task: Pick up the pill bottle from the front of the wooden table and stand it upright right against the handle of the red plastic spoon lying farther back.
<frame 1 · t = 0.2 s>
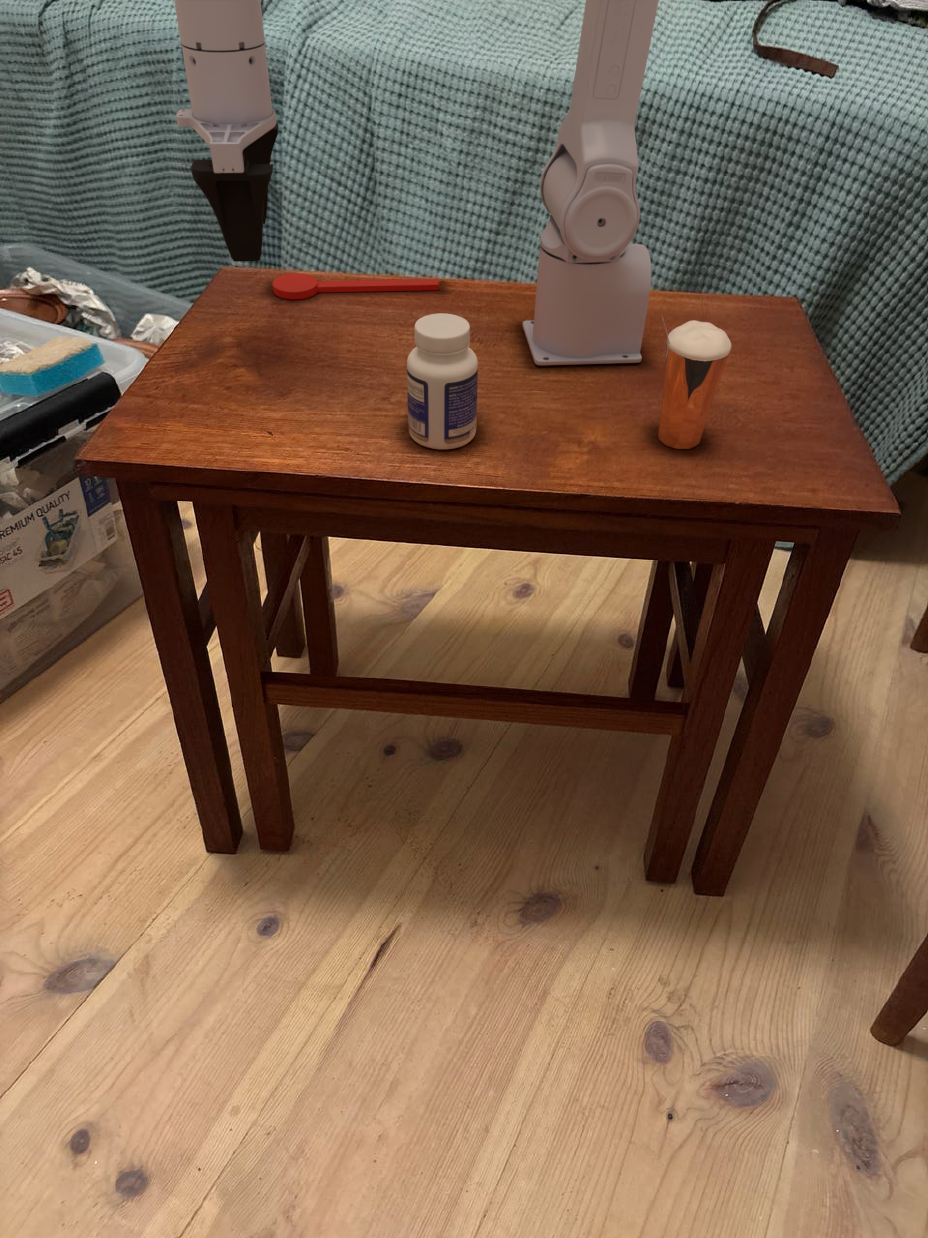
hand: (250, 240, 73), 10 cm above the table, tool pointing down, fingers open, 7 cm apart
milkshake: (673, 440, 72), on the table
red spoon: (347, 289, 91), on the table
pill bottle: (441, 435, 72), on the table
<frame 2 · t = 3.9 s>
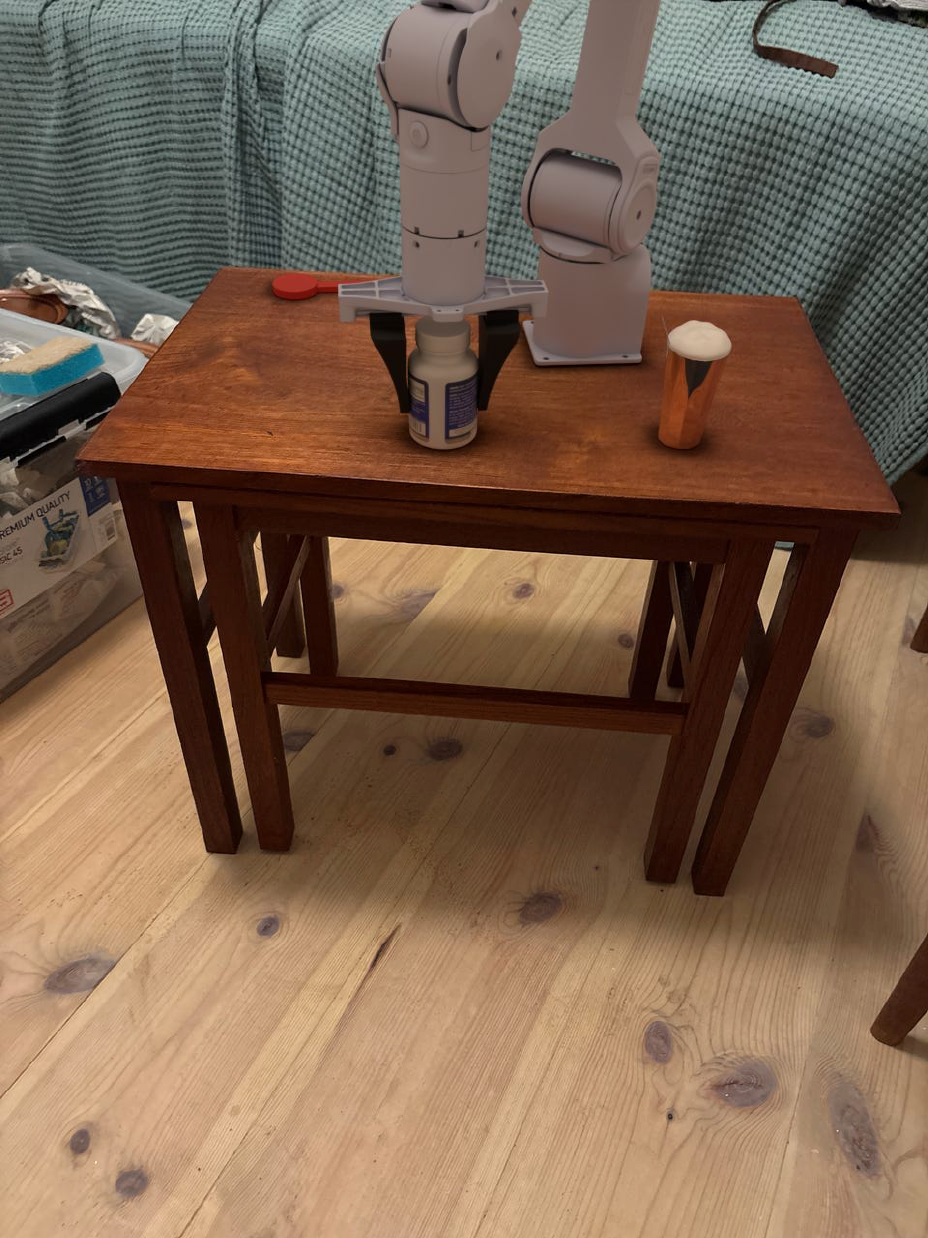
hand: (442, 405, 70), 2 cm above the table, tool pointing down, fingers closed on pill bottle, 5 cm apart
pill bottle: (442, 435, 72), on the table, touching gripper
everything else where it was.
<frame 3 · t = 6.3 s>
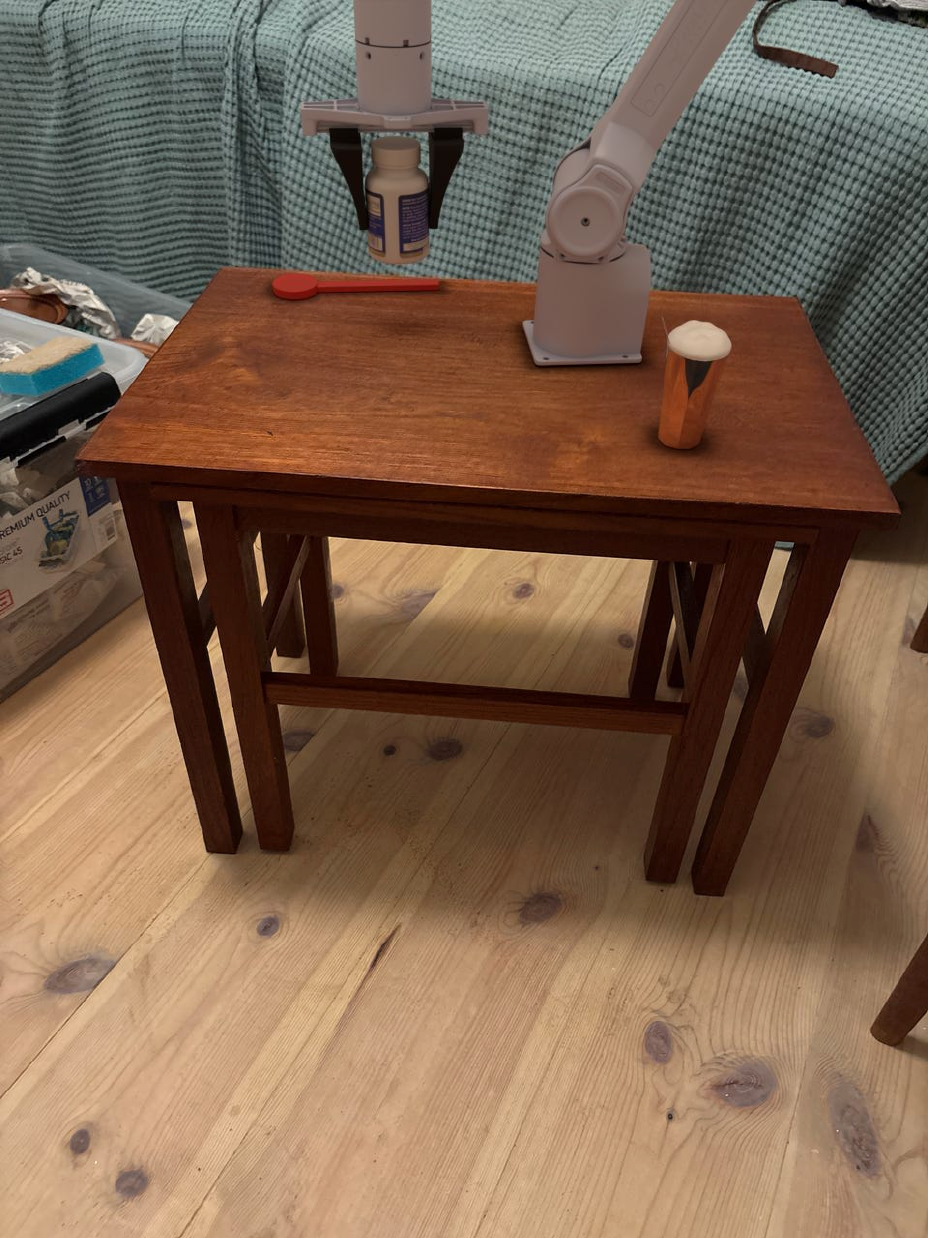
hand: (397, 225, 78), 9 cm above the table, tool pointing down, fingers closed on pill bottle, 5 cm apart
pill bottle: (398, 256, 80), point 7 cm above the table, touching gripper
everything else where it was.
when the fingers open (2 cm above the table, at t = 9.0 s): pill bottle stays where it is, on the table.
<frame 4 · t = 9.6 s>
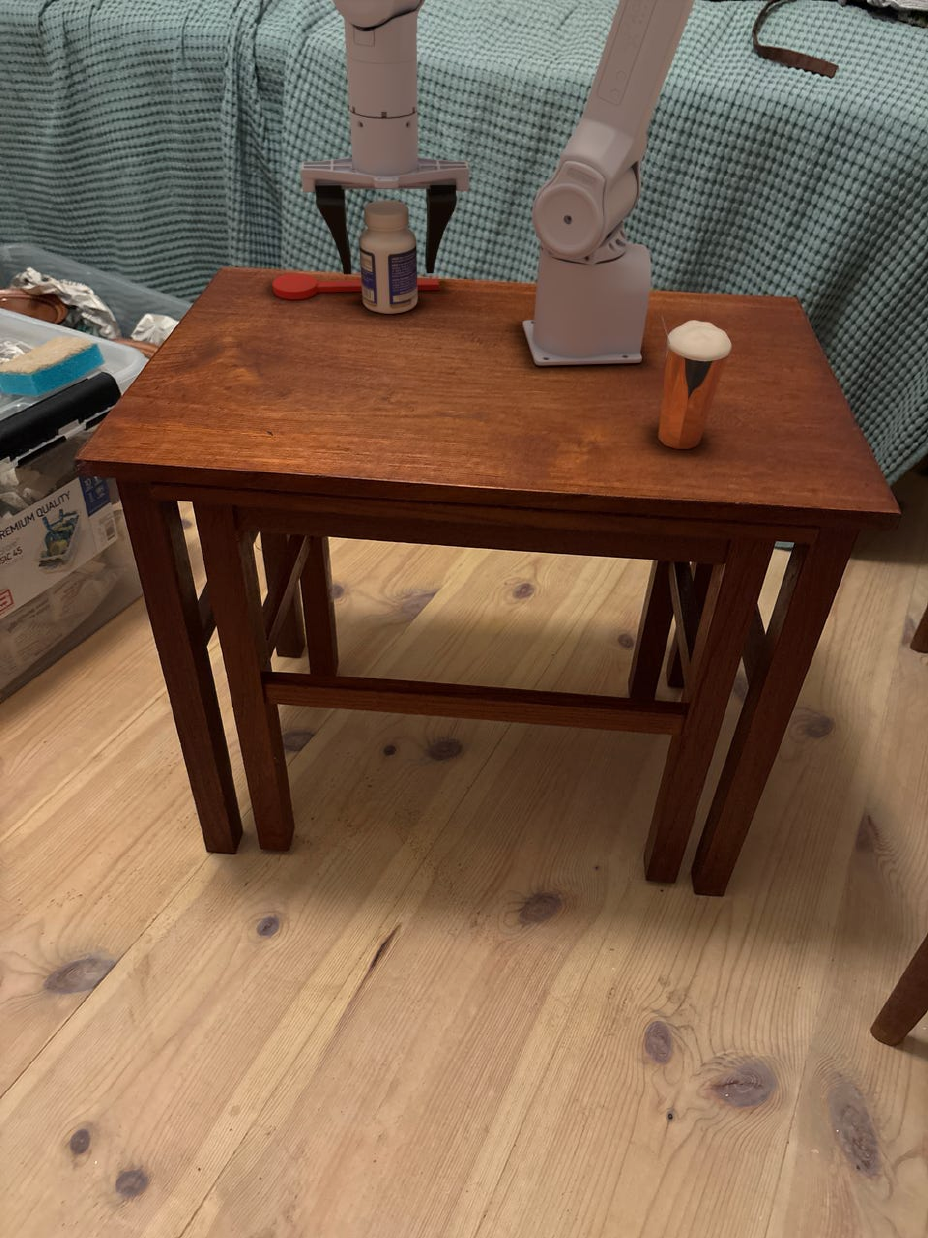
hand: (388, 269, 86), 3 cm above the table, tool pointing down, fingers open, 7 cm apart
pill bottle: (390, 305, 89), on the table
everything else where it was.
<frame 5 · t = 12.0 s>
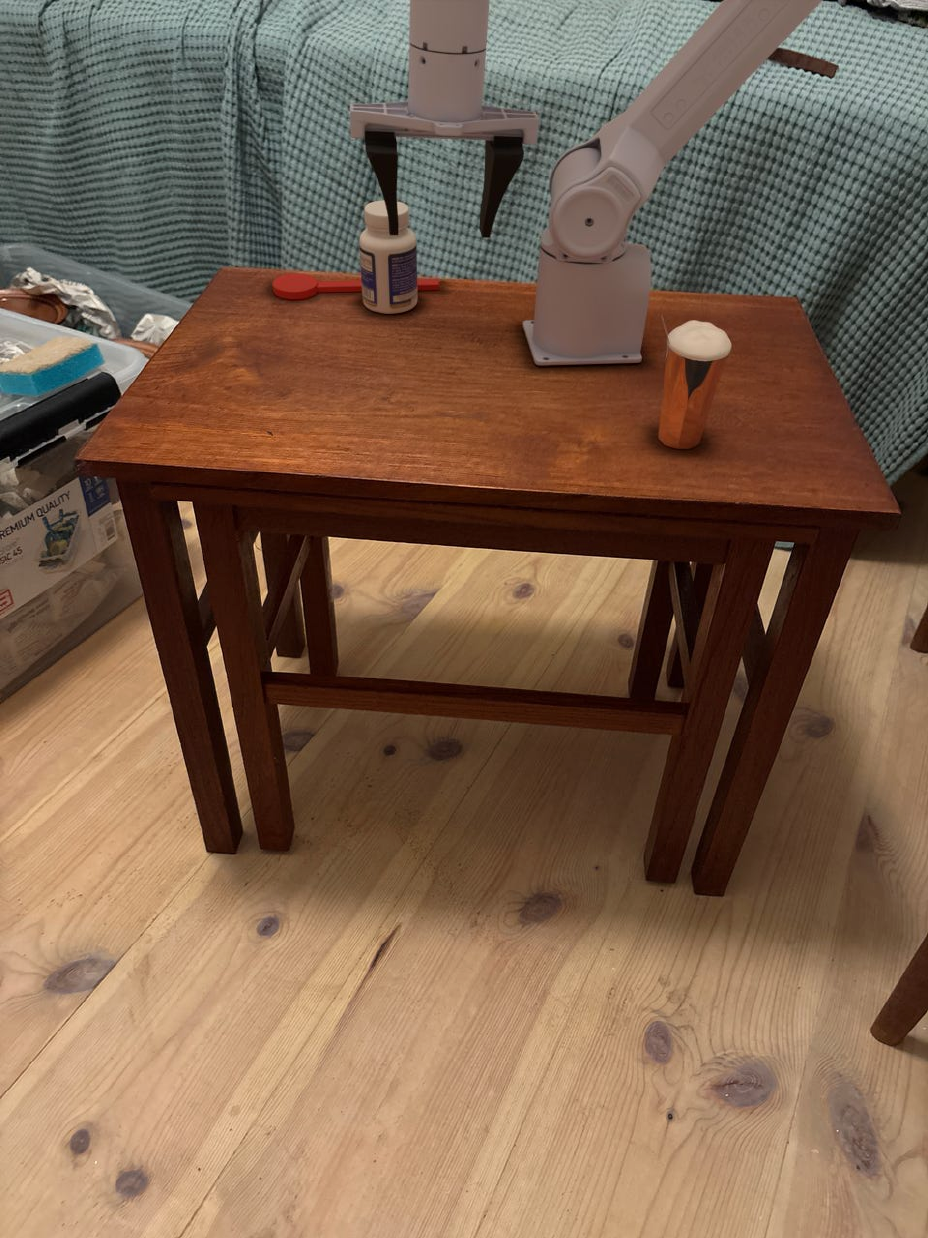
hand: (439, 231, 77), 9 cm above the table, tool pointing down, fingers open, 7 cm apart
nothing on the table moved.
at the end: pill bottle 1.8 cm from the target spot on the table beside the red spoon, on the table; pill bottle tilted 0° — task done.
